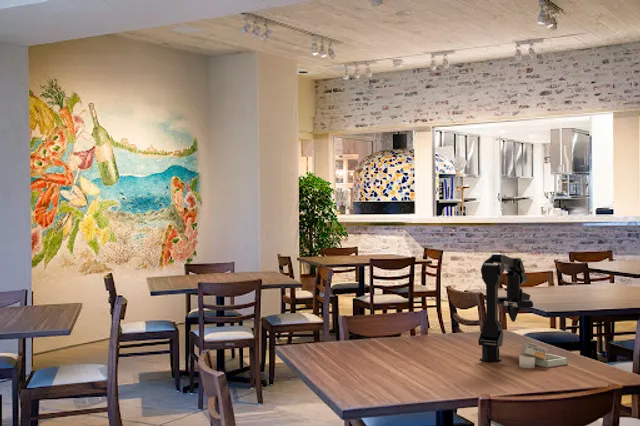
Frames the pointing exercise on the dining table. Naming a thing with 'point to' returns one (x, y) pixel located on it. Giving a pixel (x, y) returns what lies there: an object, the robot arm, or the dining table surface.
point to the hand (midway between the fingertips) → (513, 321)
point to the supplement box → (534, 350)
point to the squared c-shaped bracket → (551, 361)
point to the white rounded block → (526, 361)
